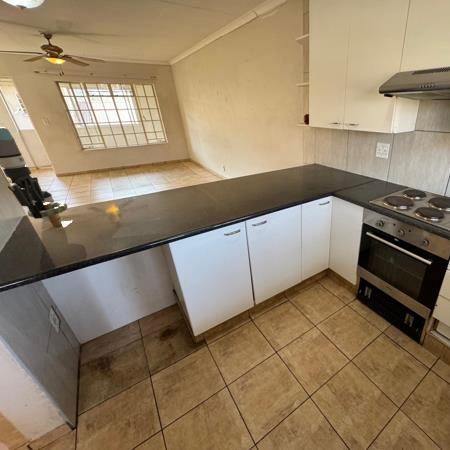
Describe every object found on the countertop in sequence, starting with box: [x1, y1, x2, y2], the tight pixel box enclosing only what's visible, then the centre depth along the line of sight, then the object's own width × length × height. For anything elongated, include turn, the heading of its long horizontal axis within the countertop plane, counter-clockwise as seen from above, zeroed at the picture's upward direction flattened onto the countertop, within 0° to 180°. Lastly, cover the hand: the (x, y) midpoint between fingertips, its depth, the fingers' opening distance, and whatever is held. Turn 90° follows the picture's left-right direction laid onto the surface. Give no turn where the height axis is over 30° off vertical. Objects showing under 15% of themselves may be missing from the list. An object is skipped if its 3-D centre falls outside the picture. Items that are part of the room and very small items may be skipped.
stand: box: [40, 202, 73, 232], centre depth 121 cm, size 9×9×14 cm
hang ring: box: [27, 201, 68, 218], centre depth 119 cm, size 14×14×3 cm
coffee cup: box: [30, 190, 60, 222], centre depth 131 cm, size 9×9×15 cm
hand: (41, 216), depth 115 cm, fingers closed on hang ring, 3 cm apart
